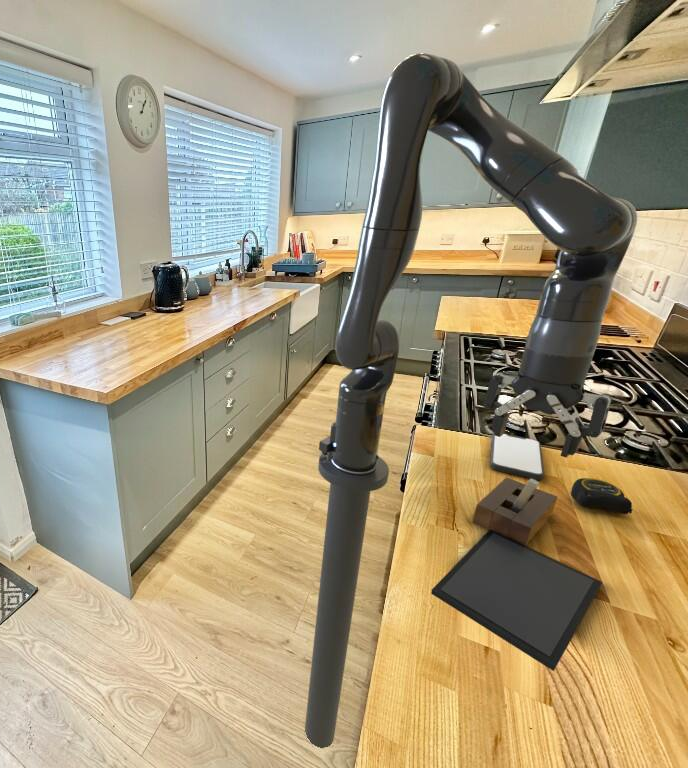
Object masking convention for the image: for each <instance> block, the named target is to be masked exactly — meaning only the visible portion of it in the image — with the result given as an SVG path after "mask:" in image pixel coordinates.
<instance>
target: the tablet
mask: <svg viewBox="0 0 688 768" xmlns="http://www.w3.org/2000/svg"><path fill="white" fill-rule="evenodd" d="M602 585H603V581H601V580H599V579H597V578H595V577H593V576H591V575H589V574H586V573H584V572H582V571H580V570H578V569H576V568H575V567H571V566H569V565H568V564H565V563H564V562H562V561H559V560H557V559H554V558H553V557H550V556H549V555H547V554H544V553H542V552H540V551H538V550H536V549H533V548H531V547H529V546H528V545H526V546H525V545H523V544H521V543H518V542H516V541H514V540H512V539H510V538H508V537H506V536H504V535H501V534H499V533H497V532H495V531H493V530H491V529H490V530H487V531H486V533H485V534H484V535H483V536H481V538H480V539H478V541H477V542H476V543H475V544H474V545H473V546H472V547H471V548H470V549H469V550H468V551H467V552H466V553H465V555H463V556H462V558H460V559H459V561H457V563H456V564H455V565H454V566H452V568H451V569H450V570H449V571H448V572H447V573H446V574H445V575H444V576H443V577H441V579H439V581H438V582H437V583H436V584H435V585H434V586H433V588H431V592H430V594H431V595H432V596H434V597H436V598H437V599H439V600H441V601H442V602H444V603H445V604H446V605H448V606H450V607H451V608H453V609H454V610H456V611H458V612H460V614H462V615H464V616H466V617H467V618H469V619H470V620H471V621H474V622H475V623H477V624H478V625H480V626H481V627H483V628H485V629H486V630H488V631H489V632H491V633H493V634H494V635H495V636H497V637H499V638H500V639H502V640H503V641H505V642H507V643H508V644H510V645H511V646H513V647H514V648H516V649H518V650H519V651H521V652H522V653H524V654H525V655H527V656H529V657H530V658H532V659H533V660H535V661H537V662H538V663H540V664H542V665H543V666H544V667H546V668H548V669H549V670H551V671H552V672H554V671H555V670H556V668H557V667H558V664H559V663H560V661H561V659H562V657H563V655H564V654H565V652H566V650H567V648H568V646H569V645H570V643H571V641H572V639H573V638H574V635H575V634H576V632H577V630H578V629H579V627H580V625H581V623H582V622H583V620H584V618H585V617H586V614H587V612H588V610H589V609H590V607H591V605H592V603H593V602H594V599H595V598H596V597H597V594H598V593H599V591H600V589H601V587H602Z"/></svg>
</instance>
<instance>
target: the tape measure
mask: <svg viewBox="0 0 688 768" xmlns="http://www.w3.org/2000/svg"><path fill="white" fill-rule="evenodd" d="M570 496H571V498H572V499H573V500H574V501H575V502H577V504H578V505H579V506H580V507H582V508H585V509H589V510H595V511H601V512H607V513H608V512H609V513H614V514H619V515H628V514H632V511H634V509H633V503H632V501H631V500H630V499H629V498H627V497H626V496H625V493H624V492H623V491H622V490H621V488H619V487H618V486H616V485H614V484H612V483H610V482H607V481H605V480H601V479H596V478H591V477H588V478H587V477H583V478H582V477H581V478H579V479H578V478H577V480H575V481H574V483H573V485H572V487H571V490H570Z"/></svg>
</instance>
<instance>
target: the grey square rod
mask: <svg viewBox="0 0 688 768" xmlns="http://www.w3.org/2000/svg"><path fill="white" fill-rule="evenodd" d="M525 484H526V485H525V487H524V489H523V490H522V492H521V493H520V495H519V496H518V498H517V500H516V501H515V503H514V504H513V506H512V508H511V509H510V510H511V511H514V512H516V513H519V512H520V511H521V510H522V509H523V507H524V506H525V504H526V503H527V501H528V500H529V498H530V497H531V495H532V494H533V492H534V490H535V489H537V488H538V486H539V484H540V481H539V480H534V479H532V478H531V479H530V478H529V479H528V480H527V482H526V483H525Z"/></svg>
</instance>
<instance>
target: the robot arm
mask: <svg viewBox="0 0 688 768" xmlns="http://www.w3.org/2000/svg"><path fill="white" fill-rule="evenodd" d="M379 109H380V110H379V120H378V128H377V131H378V132H377V141H376V150H375V160H374V165H373V170H372V175H371V182H370V186H369V192H368V198H367V202H366V209H365V214H364V217H363V222H362V226H361V231H360V237H359V240H358V247H357V254H356V260H355V265H354V268H353V269H354V270H353V273H352V277H351V278H352V279H351V283H350V288H349V291H348V296H347V300H346V303H345V306H344V309H343V313H342V316H341V320H340V323H339V326H338V328H337V329H338V330H337V333H336V337H335V346H334V347H335V355H336V358H337V360H338V362H339V364H340V365H341V366H342V367H343V368H345V369H347V370H350V372H349V373H348V374H347V375H346V376H345V377H343V378H342V379H341V380H340V382H339V386H338V396H337V405H336V406H337V407H336V415H335V421H334V422H333V423H332V424H331V425H330V434H329V436H327V437H325V438H324V439H321V440H319V442H318V443H319V445H318V450H319V451H320V452H321V454H322V453H323V455H324V456H325V455H328V461H330V462H332V464H333V466H334V467H335V468H337V469H338V470H340V471H342V472H344V473H347V474H352V475H367V474H370V473H372V472H374V471H375V469H376V461H377V460H378V458H379V457H380V456H379V455H378V451H379V445H380V438H381V432H382V425H383V419H384V412H385V405H386V399H387V394H388V391H389V390H390V388H391V386H392V384H393V381H394V377H395V372H396V369H397V368H396V367H397V364H398V358H399V353H400V336H399V333H398V331H397V329H396V327H395V325H394V324H392V323H391V322H390V321H388V320H385V319H381V318H380V319H379V316H380V313H381V310H382V307H383V305H384V302H385V301H386V299H387V297H388V295H389V294H390V292H391V291H392V289H393V288H394V286H395V285H396V283H397V282H398V281H399V279H400V277H401V276H402V275H403V274H404V272H405V270H406V269H407V266H408V265H409V263H410V261H411V259H412V257H413V255H414V251H415V249H416V244H417V240H418V236H419V232H420V229H421V223H422V220H423V219H422V218H423V195H422V187H421V161H422V154H423V150H424V146H425V143H426V138H427V135H428V132H430V133H432V134H434V135H436V136H438V137H440V138H442V139H444V140H445V141H448V142H449V143H450V144H452V145H453V146H454V147H455V148H456V149H458V150H459V151H460V152H461V153H462V154H463V155H464V157H465V158H466V159H467V160H468V161H469V163H470V164H471V165H472V167H473V169H474V170H475V171H476V173H478V175H479V176H480V177H481V178H482V179H483V181H484V182H485V183H486V184H487V185H488V186H489V187H491V188H492V189H493V190H494V191H495V192H497V194H499V195H500V196H501V197H503V198H504V199H505V200H506V201H508V202H509V203H510V204H511V205H512V206H513V207H515V208H516V209H518V210H520V211H521V212H522V213H523V214H524V215H525V216H526V217H527V218H528V219H529V221H530V222H531V223H532V224H533V225H534V227H536V229H537V230H538V231H539V232H540V233H541V234H542V235H543V236H544V237H545V238H546V239H547V240H548V242H550V243H551V244H552V245H553V246H555V247H556V248H557V249H559V252H558V256H557V260H556V263H555V267H554V269H553V272H552V273H551V274H550V276H549V277H548V278H547V279H546V280H545V283H544V285H543V287H542V290H541V294H540V298H539V302H538V304H537V309H536V312H535V313H536V314H535V317H534V318H533V321H532V323H531V325H530V328H529V331H528V334H527V336H526V339H525V346H524V349H523V354H522V357H521V361H520V365H519V368H518V372H517V374H516V376H515V377H513V376H510V375H507V374H506V373H505V372H503V371H499V372H498V373H495V374H494V375H492V376H491V377H490V381H489V384H488V387H487V390H486V393H485V396H484V399H483V403H482V407H483V408H484V409H487V410H490V411H492V412H493V413H494V417H493V422H492V425H491V431H492V432H493V433H495V436H498V437H501V436H502V435H503V434H505V431H506V428H507V424H508V422H509V418H510V413H509V412H510V411H512V410H514V409H516V408H517V407H519V406H521V405H522V406H523V407H524V408H525V409H526V410H530V411H538V412H541V413H543V414H545V415H549V416H552V415H556V417H557V418H558V419H559V421H560V422H561V424H563V425H564V426H565V428H566V430H567V432H568V434H566V437H565V440H564V444H563V447H562V449H561V453H560V456H561V457H563V458H566V459H568V457H569V456H574V455H575V454H576V453H577V452H578V451H579V448H580V445H581V442H582V441H583V438H584V437H590V438H595V439H596V438H598V437H599V436H600V435H601V434H602V433H603V432H604V430H605V427H606V424H607V420H608V416H609V411H610V407H611V404H612V400H613V397H612V395H611V394H610V393H602V394H596V393H595V394H594V393H588V392H586V391H585V387H584V386H585V382H586V379H587V376H588V373H589V370H590V367H591V364H592V361H593V357H594V356H595V352H596V348H597V347H598V346H597V345H598V342H599V339H600V336H601V332H602V331H601V330H602V323H603V319H604V315H605V313H606V310H607V306H608V303H609V300H610V297H611V293H612V289H613V284H614V281H615V277H616V275H617V274H618V271H619V269H620V267H621V265H622V263H623V261H624V258H625V256H626V254H627V251H628V249H629V247H630V245H631V242H632V239H633V236H634V234H635V230H636V228H637V225H638V213H637V209H636V208H635V206H634V205H633V204H632V203H631V202H630V201H628V200H626V199H624V198H621V197H618V196H617V197H615V196H610V195H609V194H607V193H605V192H604V191H602V190H601V189H599V188H598V187H597V186H595V185H594V184H593V183H591V182H590V181H588V180H587V179H585V178H584V177H582V176H581V175H580V174H579V171H578V169H577V168H576V167H575V165H573V164H572V163H571V162H570V161H569V160H568V159H566V158H565V157H564V156H562V154H560V153H558V151H556V150H554V149H553V148H552V147H550V146H549V145H548V144H546V143H544V142H543V141H542V140H540V139H539V138H537V137H536V136H534V135H533V134H532V133H530V132H528V131H527V130H525V128H523V127H521V126H520V125H518V124H516V123H515V122H514V121H512V120H511V119H509V118H508V117H506V116H505V115H504V114H503V113H501V112H500V111H499V110H498V109H496V107H494V106H493V105H492V104H491V103H490V102H489V101H488V100H487V99H486V98H485V97H484V96H483V95H482V93H480V91H479V90H478V89H477V88H476V87H475V86H474V84H473V83H472V82H471V80H470V79H469V78H468V77H467V76H466V75H465V73H464V72H463V71H462V69H460V67H459V66H458V64H456V62H454V61H452V60H450V59H448V58H444V57H440V56H438V55H436V54H430V53H425V52H424V53H423V52H421V53H419V52H418V53H413V54H412V55H411V54H410V55H409V56H408V57H406V58H405V59H403V60H402V61H401V62H400V63H399V64H398V65H397V66H396V67H395V68H394V70H393V71H392V72H391V73H390V76H389V77H388V79H387V82H386V84H385V86H384V89H383V93H382V97H381V102H380V108H379ZM509 385H511V387H512V389H513V391H514V393H515V395H516V396H515V397H513V398H511V399H510V400H508V401H507V402H504V403H503V404H502V403H501V402H499V398H500V396H501V393H502V390H503V389H506V388H507V387H508V386H509ZM582 401H584V402H585V403H586V406H587V409H589V410H591V411H592V412H591V417H590V420H589V424H588V425H587V424H584V422H583V420H582V419H581V417H580V414H579V413H580V412H578V410H577V407H576V406H575V405H577V404H579V403H581V402H582ZM328 452H329V454H327V453H328ZM378 456H379V457H378ZM376 459H377V460H376Z"/></svg>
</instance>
